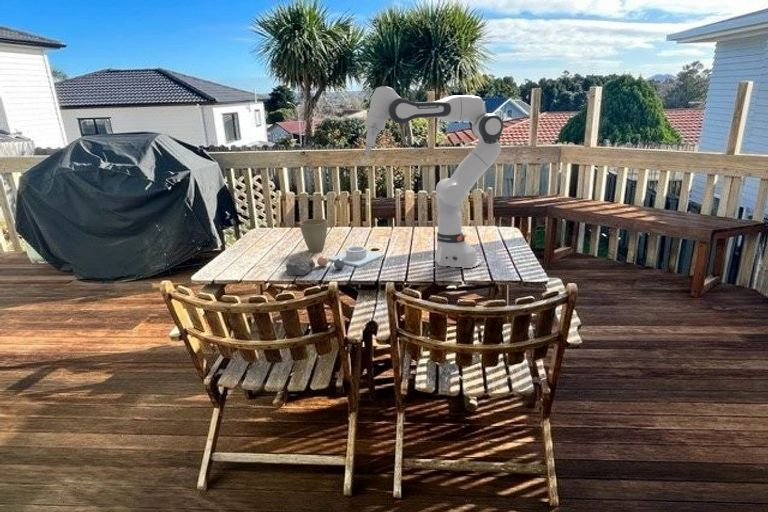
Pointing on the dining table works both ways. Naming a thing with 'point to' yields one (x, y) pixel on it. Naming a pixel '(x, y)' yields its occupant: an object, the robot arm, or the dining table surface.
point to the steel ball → (339, 263)
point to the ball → (322, 261)
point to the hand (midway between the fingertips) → (366, 154)
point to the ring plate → (358, 262)
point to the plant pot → (314, 233)
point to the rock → (299, 265)
